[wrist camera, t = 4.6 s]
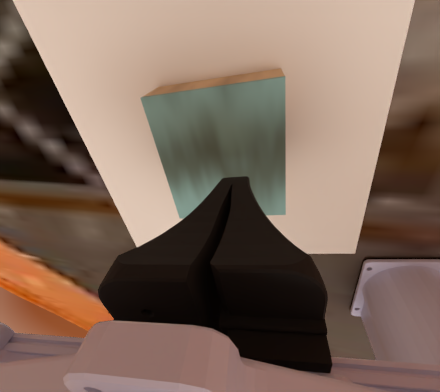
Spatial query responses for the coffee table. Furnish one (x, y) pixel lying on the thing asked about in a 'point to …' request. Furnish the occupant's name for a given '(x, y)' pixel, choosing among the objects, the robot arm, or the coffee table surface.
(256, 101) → the tile
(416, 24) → the coffee table surface
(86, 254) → the coffee table surface
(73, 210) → the coffee table surface
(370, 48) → the mat
